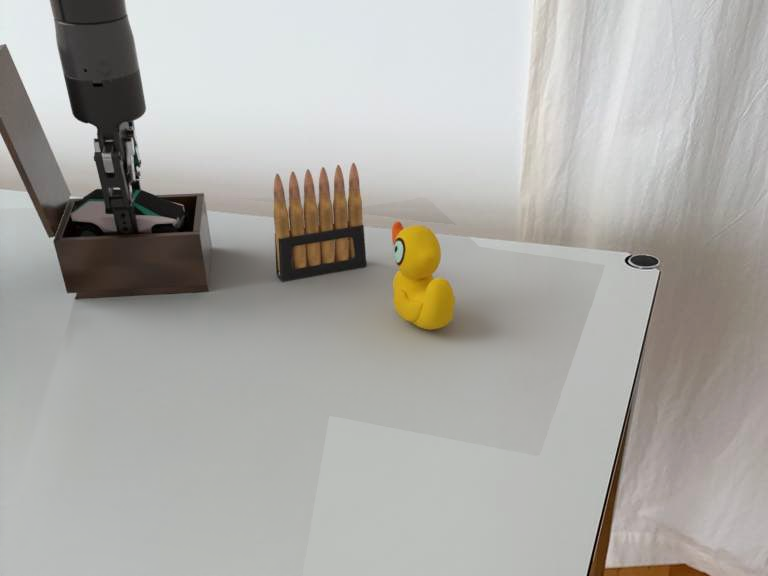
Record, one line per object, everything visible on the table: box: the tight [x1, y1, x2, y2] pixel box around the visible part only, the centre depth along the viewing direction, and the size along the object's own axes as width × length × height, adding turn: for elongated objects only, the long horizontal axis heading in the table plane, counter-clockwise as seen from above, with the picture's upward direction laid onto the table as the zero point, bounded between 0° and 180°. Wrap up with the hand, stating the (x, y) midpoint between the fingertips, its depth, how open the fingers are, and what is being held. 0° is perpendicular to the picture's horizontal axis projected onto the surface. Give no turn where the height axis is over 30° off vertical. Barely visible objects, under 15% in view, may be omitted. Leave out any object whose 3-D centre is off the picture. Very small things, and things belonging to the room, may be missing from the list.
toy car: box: [70, 188, 190, 237], centre depth 102 cm, size 6×12×5 cm, turn 88°
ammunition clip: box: [273, 162, 368, 282], centre depth 103 cm, size 11×2×12 cm, turn 112°
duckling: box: [391, 221, 456, 330], centre depth 95 cm, size 11×5×10 cm, turn 27°
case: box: [53, 192, 213, 299], centre depth 104 cm, size 16×12×7 cm
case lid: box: [0, 43, 72, 239], centre depth 95 cm, size 16×12×1 cm
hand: (132, 225), depth 103 cm, fingers closed on toy car, 6 cm apart
